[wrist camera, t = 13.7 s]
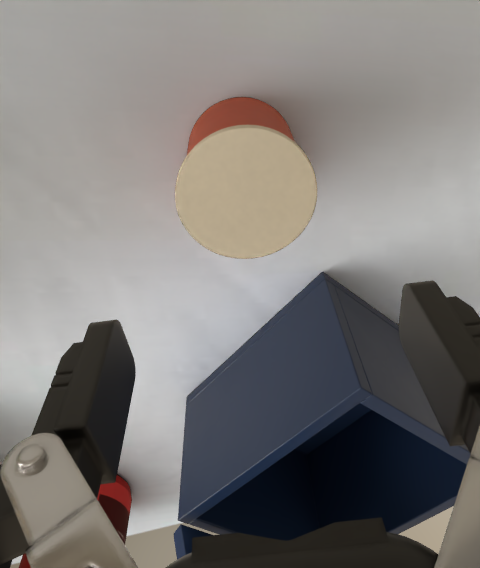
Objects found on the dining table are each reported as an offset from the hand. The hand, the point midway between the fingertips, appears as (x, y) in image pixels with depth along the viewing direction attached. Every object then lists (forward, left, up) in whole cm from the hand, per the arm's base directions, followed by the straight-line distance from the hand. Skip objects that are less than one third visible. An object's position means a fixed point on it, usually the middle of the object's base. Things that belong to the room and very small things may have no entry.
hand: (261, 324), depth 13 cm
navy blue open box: (+10, +15, -13) cm, 22 cm away
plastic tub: (0, 0, -13) cm, 13 cm away
